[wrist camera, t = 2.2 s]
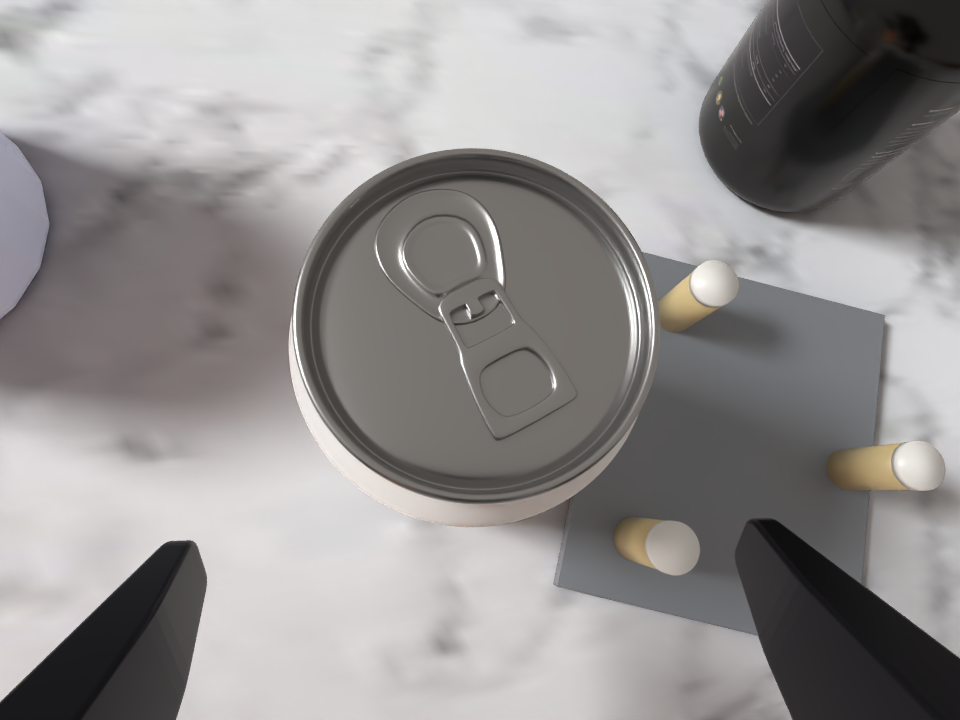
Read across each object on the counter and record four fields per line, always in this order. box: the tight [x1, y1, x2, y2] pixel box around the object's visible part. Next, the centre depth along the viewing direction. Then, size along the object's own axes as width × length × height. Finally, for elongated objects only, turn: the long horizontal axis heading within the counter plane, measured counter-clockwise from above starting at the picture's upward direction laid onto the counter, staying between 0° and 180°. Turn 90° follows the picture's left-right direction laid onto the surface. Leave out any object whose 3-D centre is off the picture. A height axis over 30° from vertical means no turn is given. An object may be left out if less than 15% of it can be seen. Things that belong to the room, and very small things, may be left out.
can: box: [289, 148, 660, 527], centre depth 15 cm, size 6×6×12 cm
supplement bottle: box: [699, 0, 960, 212], centre depth 18 cm, size 7×7×12 cm
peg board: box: [554, 252, 945, 635], centre depth 19 cm, size 12×10×4 cm
